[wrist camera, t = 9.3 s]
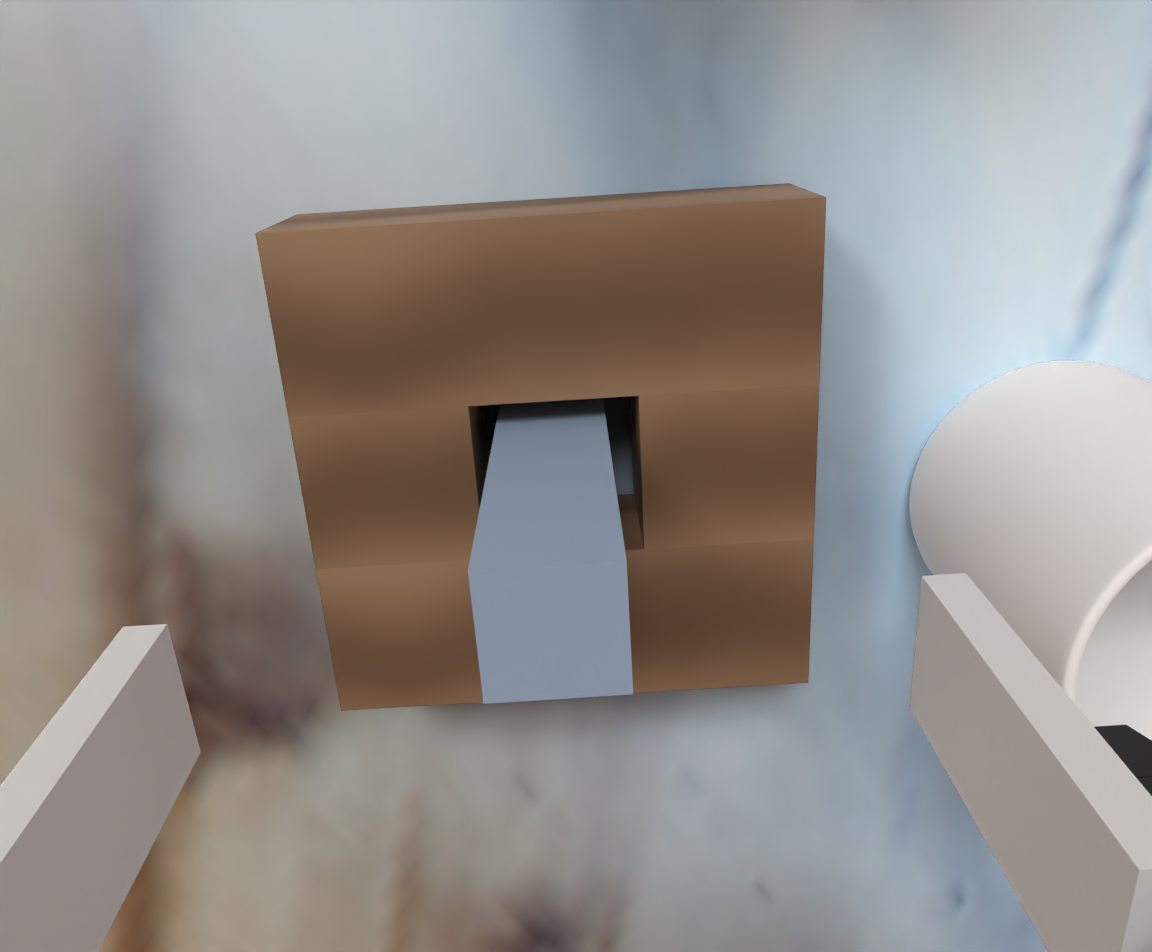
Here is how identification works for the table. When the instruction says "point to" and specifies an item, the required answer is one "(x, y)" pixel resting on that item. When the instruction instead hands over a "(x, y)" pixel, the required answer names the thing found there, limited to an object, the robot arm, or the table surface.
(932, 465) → the mug
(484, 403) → the socket block
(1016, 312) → the table surface
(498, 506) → the peg
